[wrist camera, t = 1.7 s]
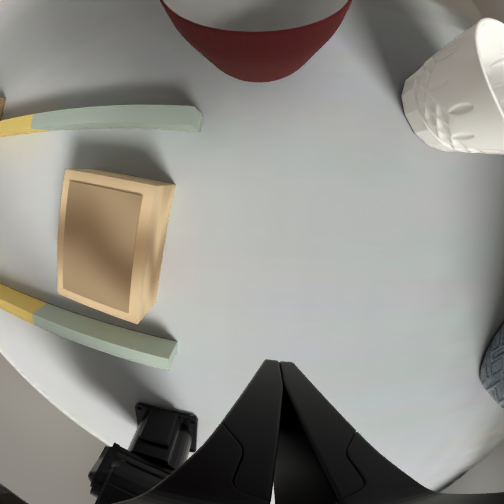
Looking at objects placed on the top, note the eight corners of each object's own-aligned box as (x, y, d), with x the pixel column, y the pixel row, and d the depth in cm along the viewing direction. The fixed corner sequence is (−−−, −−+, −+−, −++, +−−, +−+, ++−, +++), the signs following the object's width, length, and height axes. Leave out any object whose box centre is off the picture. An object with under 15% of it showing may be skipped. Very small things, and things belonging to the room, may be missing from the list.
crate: (157, 300, 21) (136, 325, 17) (85, 276, 21) (56, 294, 17) (176, 184, 19) (155, 186, 15) (96, 169, 19) (64, 169, 14)
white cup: (474, 161, 17) (563, 164, 7) (401, 156, 17) (498, 148, 8) (459, 74, 15) (535, 44, 5) (384, 58, 15) (454, -2, 6)
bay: (177, 353, 22) (168, 370, 19) (-20, 282, 22) (-33, 289, 19) (202, 115, 17) (194, 106, 15) (-20, 130, 17) (-35, 130, 15)
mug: (157, 48, 16) (93, -20, 6) (232, -14, 14) (215, -98, 4) (262, 129, 17) (263, 75, 8) (339, 58, 16) (392, -19, 6)
